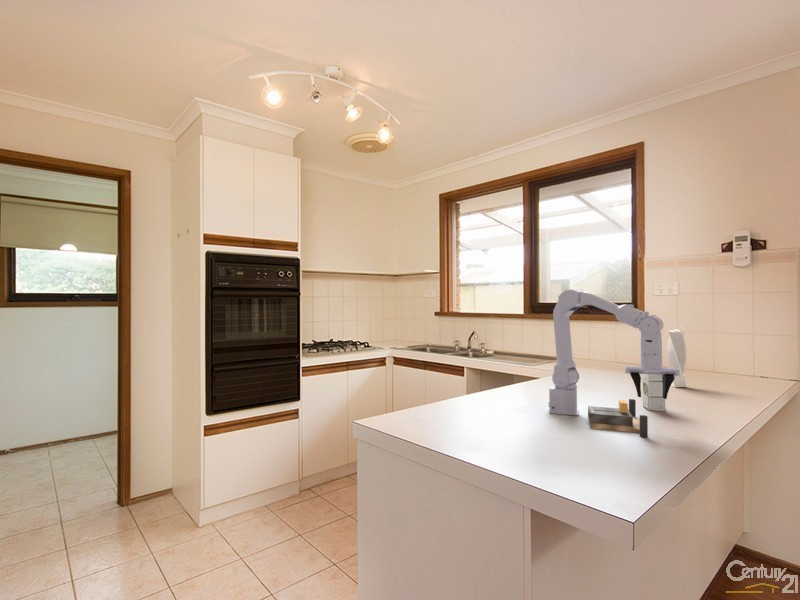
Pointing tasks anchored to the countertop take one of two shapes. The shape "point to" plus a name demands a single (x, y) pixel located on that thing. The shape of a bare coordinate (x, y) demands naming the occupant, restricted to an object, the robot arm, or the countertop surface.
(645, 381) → the syrup box
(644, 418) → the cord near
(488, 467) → the countertop surface
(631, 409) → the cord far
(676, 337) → the skyscraper
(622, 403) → the orange cuboid
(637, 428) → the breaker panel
